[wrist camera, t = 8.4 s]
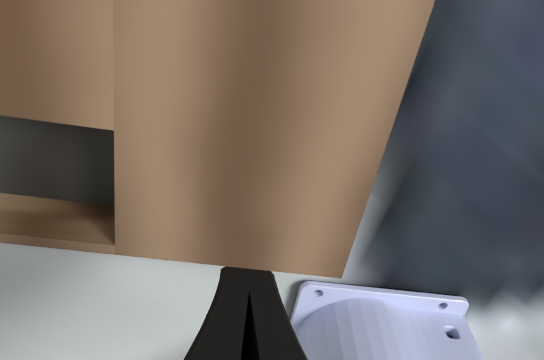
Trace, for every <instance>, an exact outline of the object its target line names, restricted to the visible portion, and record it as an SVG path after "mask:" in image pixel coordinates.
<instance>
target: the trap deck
mask: <svg viewBox="0 0 544 360" xmlns="http://www.w3.org/2000/svg"><path fill="white" fill-rule="evenodd" d="M434 2H435V0H0V242H1V243H11V244H20V245H30V246H39V247H48V248H58V249H67V250H77V251H86V252H96V253H105V254H115V255H124V256H134V257H143V258H153V259H162V260H172V261H181V262H191V263H200V264H210V265H219V266H229V267H238V268H248V269H257V270H267V271H276V272H286V273H295V274H305V275H314V276H324V277H333V278H342V275H343V272H344V269H345V266H346V263H347V260H348V257H349V254H350V251H351V248H352V245H353V242H354V239H355V236H356V233H357V230H358V227H359V224H360V221H361V218H362V215H363V212H364V209H365V206H366V203H367V200H368V198H369V195H370V192H371V189H372V186H373V183H374V180H375V177H376V174H377V171H378V168H379V165H380V162H381V159H382V156H383V153H384V150H385V147H386V144H387V141H388V138H389V135H390V132H391V129H392V126H393V123H394V120H395V118H396V115H397V112H398V109H399V106H400V103H401V100H402V97H403V94H404V91H405V88H406V85H407V82H408V79H409V76H410V73H411V70H412V67H413V64H414V61H415V58H416V55H417V52H418V49H419V46H420V43H421V40H422V38H423V35H424V32H425V29H426V26H427V23H428V20H429V17H430V14H431V11H432V8H433V5H434Z"/></svg>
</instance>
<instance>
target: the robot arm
mask: <svg viewBox="0 0 544 360" xmlns="http://www.w3.org/2000/svg"><path fill="white" fill-rule="evenodd" d="M316 290H321V291H318V292H316ZM441 303H442V304H441ZM468 306H469V305H468V302H467V300H466V299H465V298H464V297H459V296H449V295H439V294H430V293H420V292H411V291H401V290H391V289H382V288H372V287H362V286H353V285H343V284H334V283H324V282H314V281H306V282H304V283H302V284H301V285H300V287H299V291H298V295H297V298H296V302H295V305H294V309H293V313H292V316H291V320H289V318H288V316H287V313H286V311H285V308H284V305H283V303H282V300H281V297H280V294H279V291H278V288H277V285H276V281H275V277H274V274H273V273H272V272H271V271H266V270H256V269H247V268H237V267H228V266H226V267H224V268H222V269H221V273H220V279H219V284H218V287H217V290H216V293H215V296H214V299H213V301H212V304H211V306H210V309H209V311H208V313H207V315H206V318H205V320H204V322H203V324H202V326H201V328H200V330H199V332H198V334H197V336H196V338H195V340H194V342H193V344H192V345H191V347H190V349H189V351H188V353H187V355H186V356H185V358H184V360H484V358H483V356H482V354H481V352H480V349H479V347H478V345H477V343H476V341H475V339H474V337H473V334H472V332H471V330H470V328H469V326H468V324H467V322H466V319H465V317H464V314H465V312H466V311H467V309H468Z"/></svg>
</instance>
